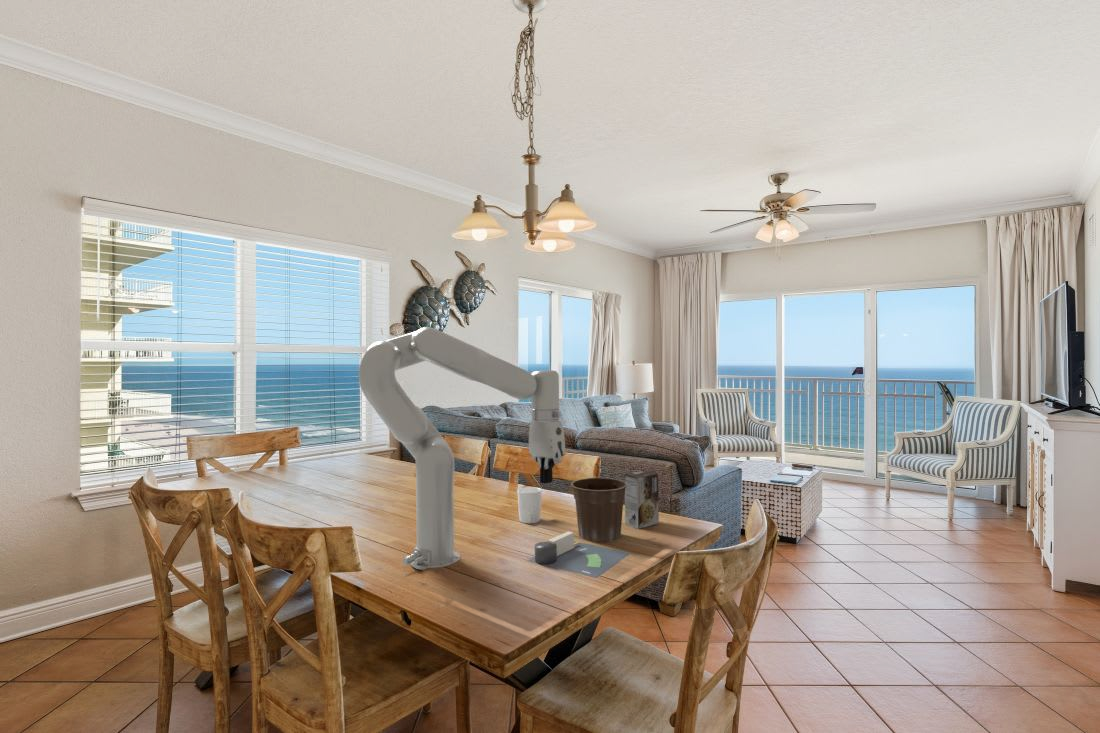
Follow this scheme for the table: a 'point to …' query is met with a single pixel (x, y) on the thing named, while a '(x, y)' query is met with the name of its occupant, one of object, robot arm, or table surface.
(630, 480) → the coffee box
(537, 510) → the white cup
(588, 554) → the board
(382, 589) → the table surface
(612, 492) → the plant pot
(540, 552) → the peg dial
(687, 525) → the table surface
